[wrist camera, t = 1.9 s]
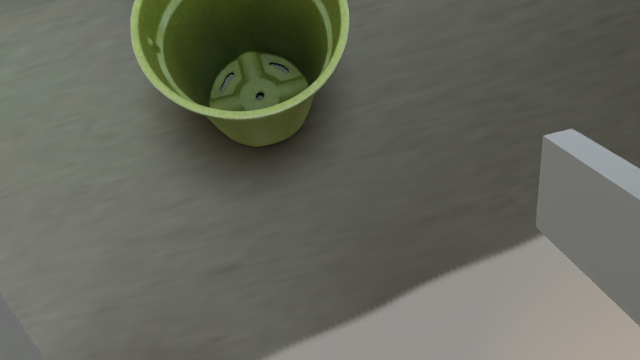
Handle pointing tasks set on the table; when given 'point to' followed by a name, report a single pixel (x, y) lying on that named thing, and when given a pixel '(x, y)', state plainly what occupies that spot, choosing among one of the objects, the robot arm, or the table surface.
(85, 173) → the table surface
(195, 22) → the plant pot
